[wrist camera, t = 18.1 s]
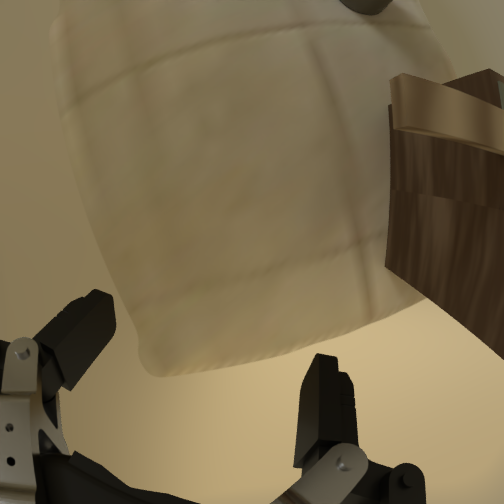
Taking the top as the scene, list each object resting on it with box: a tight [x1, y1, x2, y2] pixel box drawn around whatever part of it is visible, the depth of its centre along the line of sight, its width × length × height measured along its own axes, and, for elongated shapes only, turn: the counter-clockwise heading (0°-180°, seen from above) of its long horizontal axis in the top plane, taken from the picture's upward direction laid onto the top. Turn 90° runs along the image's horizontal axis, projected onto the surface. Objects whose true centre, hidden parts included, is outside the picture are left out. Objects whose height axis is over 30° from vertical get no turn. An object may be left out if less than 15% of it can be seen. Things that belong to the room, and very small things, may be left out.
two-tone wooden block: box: [385, 69, 504, 360], centre depth 23 cm, size 14×25×32 cm, turn 1°
